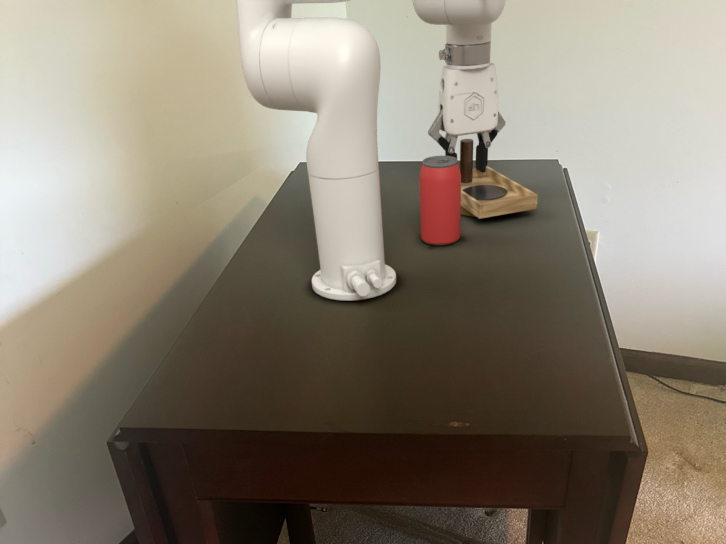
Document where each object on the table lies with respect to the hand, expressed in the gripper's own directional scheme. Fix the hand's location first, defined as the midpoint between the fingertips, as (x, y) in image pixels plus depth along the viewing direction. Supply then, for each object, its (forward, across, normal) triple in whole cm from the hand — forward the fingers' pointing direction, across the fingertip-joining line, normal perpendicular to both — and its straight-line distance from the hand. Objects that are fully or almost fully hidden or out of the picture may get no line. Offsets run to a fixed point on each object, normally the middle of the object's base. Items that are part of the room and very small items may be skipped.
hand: (466, 171), depth 126 cm
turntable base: (+4, 0, -8) cm, 9 cm away
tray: (+2, 0, -8) cm, 8 cm away
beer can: (+4, -14, -20) cm, 25 cm away
